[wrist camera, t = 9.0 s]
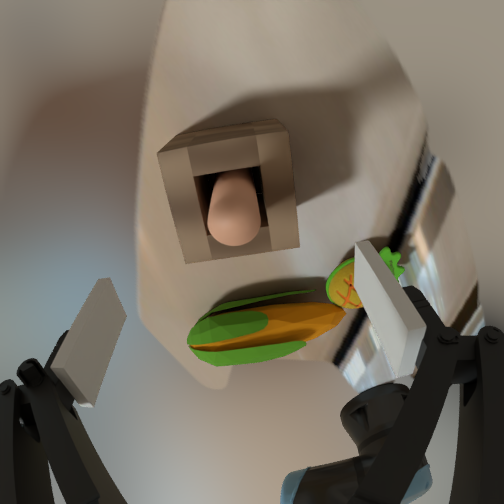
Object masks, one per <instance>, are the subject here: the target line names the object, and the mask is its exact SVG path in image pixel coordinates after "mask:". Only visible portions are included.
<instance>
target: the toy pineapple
mask: <svg viewBox="0 0 504 504" xmlns="http://www.w3.org/2000/svg"><path fill="white" fill-rule="evenodd" d="M379 255H380V257H381V258H382V259H383V261H384V262H385V264H386V265H387V267H388V268H389V269H390V271H391V272H392V274H393V275H394V277H395V278H396V280H397V281H398V277H399V276H400V275H401V274H402V273H403V272H404V271H405V269H404V267H402V266H399V265H397V262H398V261H399V260H400V258H401V254H400V252H394V253H391V251H390V248H389V247H384V248H383V249H382V250H381V251H380V252H379ZM354 266H355V257H352V258H349V259H347V260H345V261H343V262H342V263H341V264H339V265H338V266H337V267H336V268H335V269H334V271H333V272H332V273H331V274H330V276H329V278H328V280H327V282H326V292H327V296H328V298H329V299H330V301H331V302H332V303H334V304H335V305H337V306H340V307H344V308H350V309H354V308H361V307H364V306H363V304H362V302H361V300H360V298H359V296H358V294H357V292H356V290H355V288H354ZM398 283H399V281H398Z"/></svg>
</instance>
